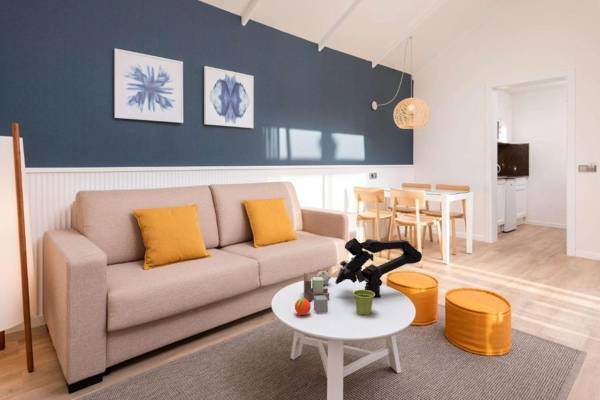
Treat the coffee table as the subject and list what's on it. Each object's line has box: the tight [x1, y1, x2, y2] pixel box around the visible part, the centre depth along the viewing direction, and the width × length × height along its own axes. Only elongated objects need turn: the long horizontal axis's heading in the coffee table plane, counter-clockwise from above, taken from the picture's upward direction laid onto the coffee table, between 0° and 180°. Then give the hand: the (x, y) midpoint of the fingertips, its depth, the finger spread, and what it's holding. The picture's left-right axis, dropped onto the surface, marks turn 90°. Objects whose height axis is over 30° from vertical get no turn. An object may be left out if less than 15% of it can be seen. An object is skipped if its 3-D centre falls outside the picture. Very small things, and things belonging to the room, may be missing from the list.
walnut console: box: [303, 272, 330, 303], centre depth 177 cm, size 12×12×10 cm
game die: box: [316, 269, 332, 287], centre depth 195 cm, size 9×8×10 cm
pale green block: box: [311, 276, 324, 293], centre depth 177 cm, size 5×5×9 cm
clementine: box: [294, 297, 312, 316], centre depth 156 cm, size 8×7×7 cm
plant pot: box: [352, 289, 375, 316], centre depth 159 cm, size 9×9×9 cm
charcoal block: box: [313, 295, 329, 314], centre depth 160 cm, size 5×5×6 cm
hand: (336, 283), depth 177 cm, fingers closed
